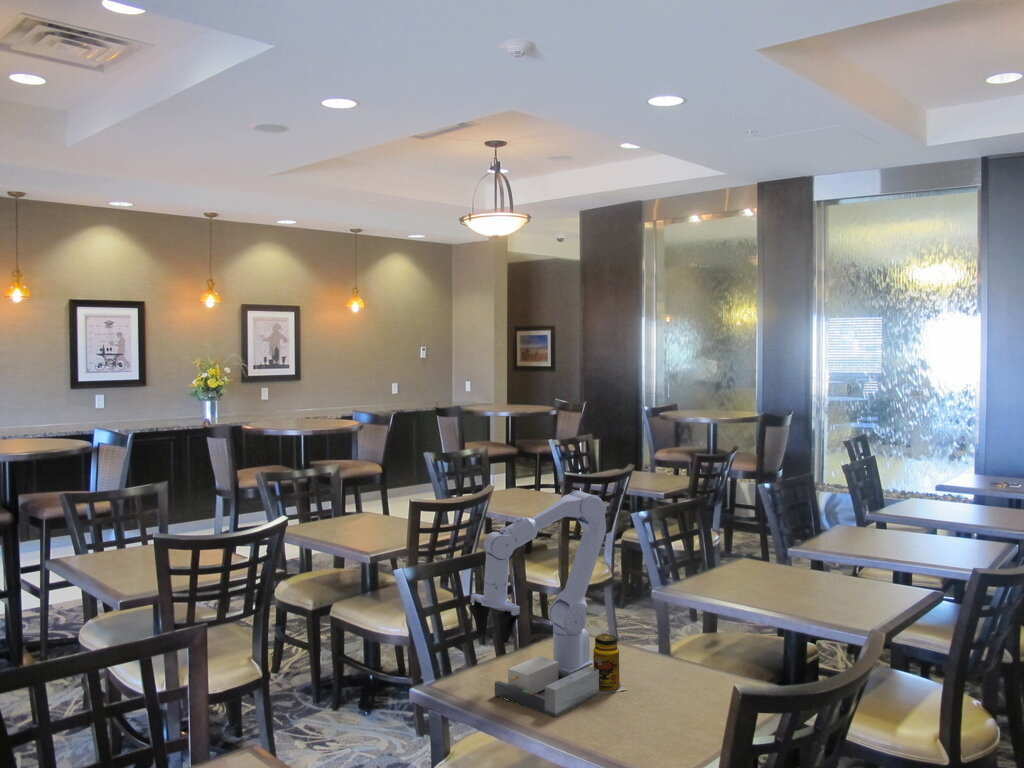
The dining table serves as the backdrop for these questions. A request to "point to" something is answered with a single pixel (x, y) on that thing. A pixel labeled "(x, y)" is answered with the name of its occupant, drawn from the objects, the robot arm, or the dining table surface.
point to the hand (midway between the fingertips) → (492, 638)
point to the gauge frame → (555, 692)
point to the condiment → (607, 663)
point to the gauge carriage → (533, 674)
